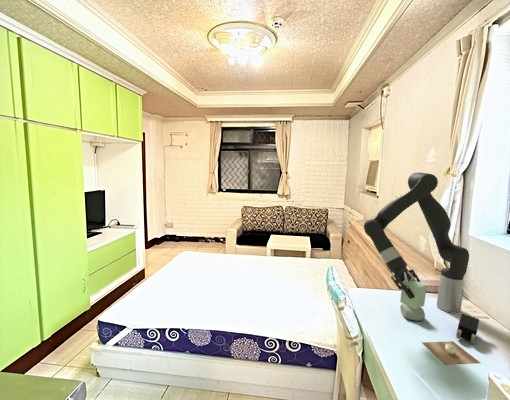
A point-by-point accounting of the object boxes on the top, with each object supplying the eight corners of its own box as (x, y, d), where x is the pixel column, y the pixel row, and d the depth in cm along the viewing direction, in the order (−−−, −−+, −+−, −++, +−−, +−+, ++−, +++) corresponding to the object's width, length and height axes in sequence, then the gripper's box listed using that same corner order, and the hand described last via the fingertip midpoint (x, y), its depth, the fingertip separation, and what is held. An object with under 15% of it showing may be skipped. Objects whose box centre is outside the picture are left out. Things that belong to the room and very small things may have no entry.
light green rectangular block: (408, 298, 116) (411, 278, 115) (424, 305, 110) (426, 284, 109) (400, 302, 112) (402, 281, 111) (415, 309, 107) (418, 288, 106)
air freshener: (426, 325, 120) (428, 304, 119) (406, 322, 122) (408, 302, 121) (416, 312, 131) (418, 293, 130) (398, 310, 133) (400, 291, 131)
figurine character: (475, 353, 105) (477, 333, 116) (477, 336, 103) (480, 317, 114) (453, 345, 109) (458, 326, 120) (456, 329, 108) (460, 311, 119)
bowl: (449, 349, 103) (450, 344, 103) (456, 354, 100) (457, 349, 100) (442, 349, 103) (443, 344, 102) (449, 355, 100) (449, 349, 100)
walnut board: (452, 343, 108) (453, 341, 108) (480, 365, 96) (480, 362, 96) (420, 344, 107) (421, 342, 107) (445, 367, 95) (445, 364, 95)
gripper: (389, 258, 112) (415, 296, 103) (408, 253, 119) (434, 289, 110) (377, 265, 117) (400, 303, 108) (396, 260, 124) (419, 295, 116)
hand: (417, 296), depth 109 cm, fingers closed on light green rectangular block, 6 cm apart
